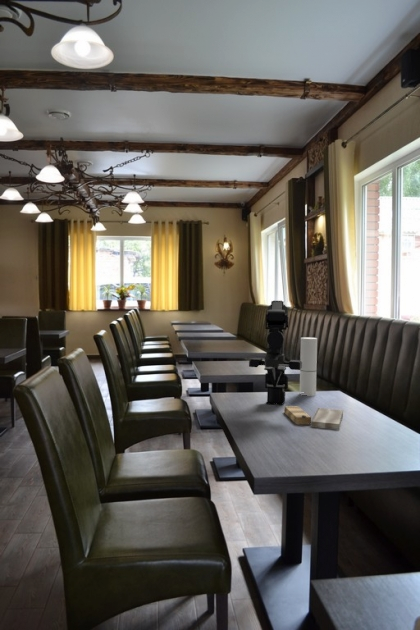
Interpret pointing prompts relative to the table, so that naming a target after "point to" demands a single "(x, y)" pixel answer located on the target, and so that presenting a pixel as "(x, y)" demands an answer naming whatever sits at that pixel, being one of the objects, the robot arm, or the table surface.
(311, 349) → the cylindrical container
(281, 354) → the robot arm
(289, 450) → the table surface
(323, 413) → the floor board
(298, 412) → the plank
